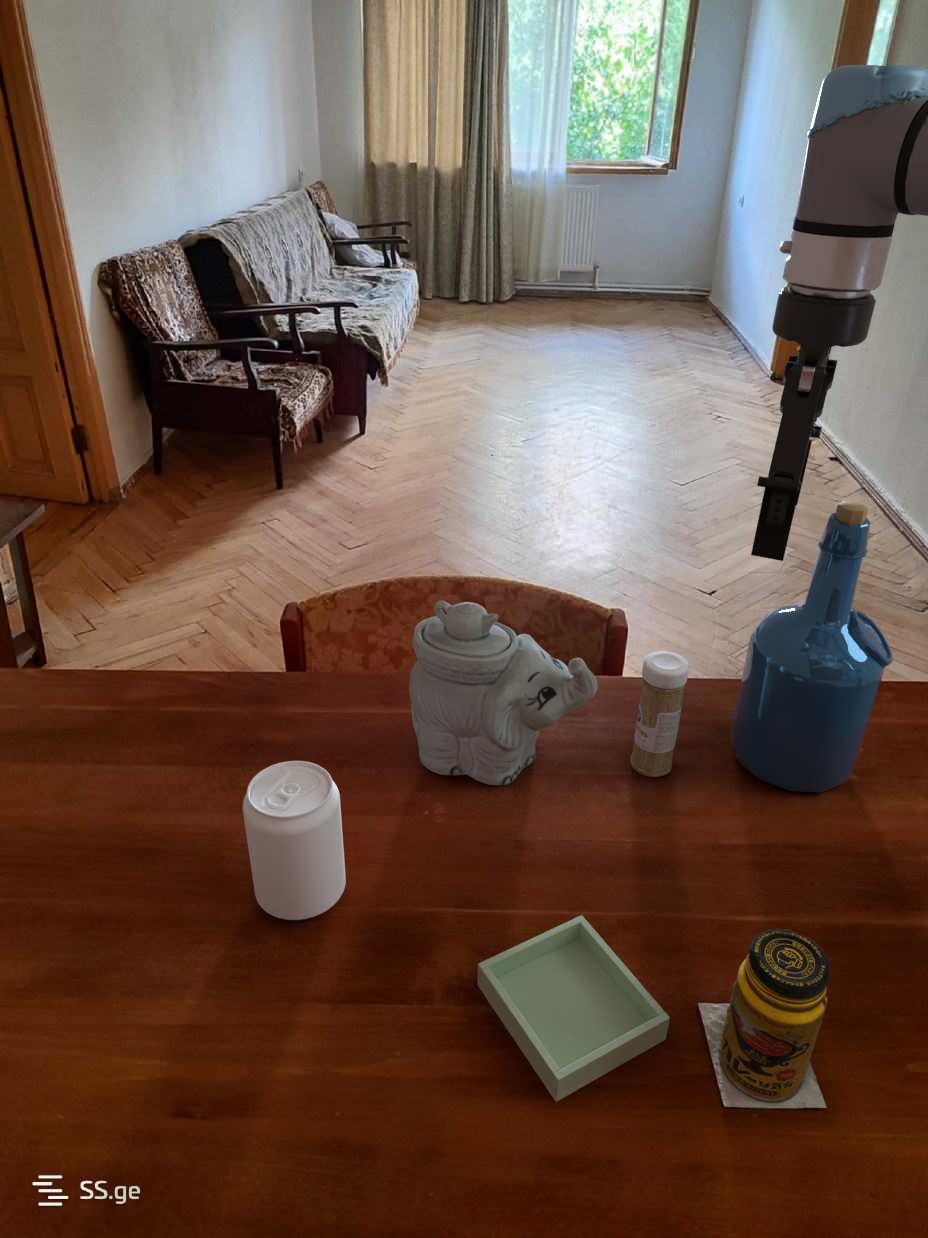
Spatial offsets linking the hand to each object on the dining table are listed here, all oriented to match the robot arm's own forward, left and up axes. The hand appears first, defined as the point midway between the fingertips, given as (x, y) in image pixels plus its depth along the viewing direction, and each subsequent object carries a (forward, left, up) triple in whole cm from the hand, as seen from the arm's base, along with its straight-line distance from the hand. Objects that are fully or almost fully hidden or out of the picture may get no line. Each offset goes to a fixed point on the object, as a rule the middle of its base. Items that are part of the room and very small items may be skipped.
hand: (775, 527), depth 83 cm
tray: (-17, +33, -28) cm, 47 cm away
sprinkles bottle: (+4, +8, -28) cm, 29 cm away
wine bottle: (-3, -7, -28) cm, 29 cm away
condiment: (-27, +23, -28) cm, 45 cm away
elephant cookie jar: (+12, +22, -28) cm, 38 cm away
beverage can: (+5, +47, -28) cm, 55 cm away
